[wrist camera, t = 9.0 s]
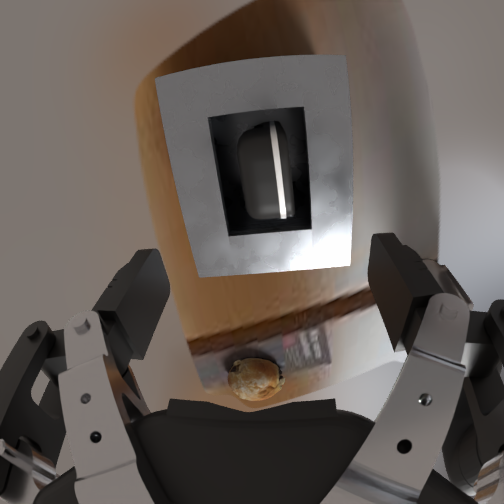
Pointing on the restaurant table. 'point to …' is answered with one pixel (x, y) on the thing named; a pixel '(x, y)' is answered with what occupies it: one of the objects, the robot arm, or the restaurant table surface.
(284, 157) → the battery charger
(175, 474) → the robot arm
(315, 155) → the box
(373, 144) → the restaurant table surface
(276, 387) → the bread roll
